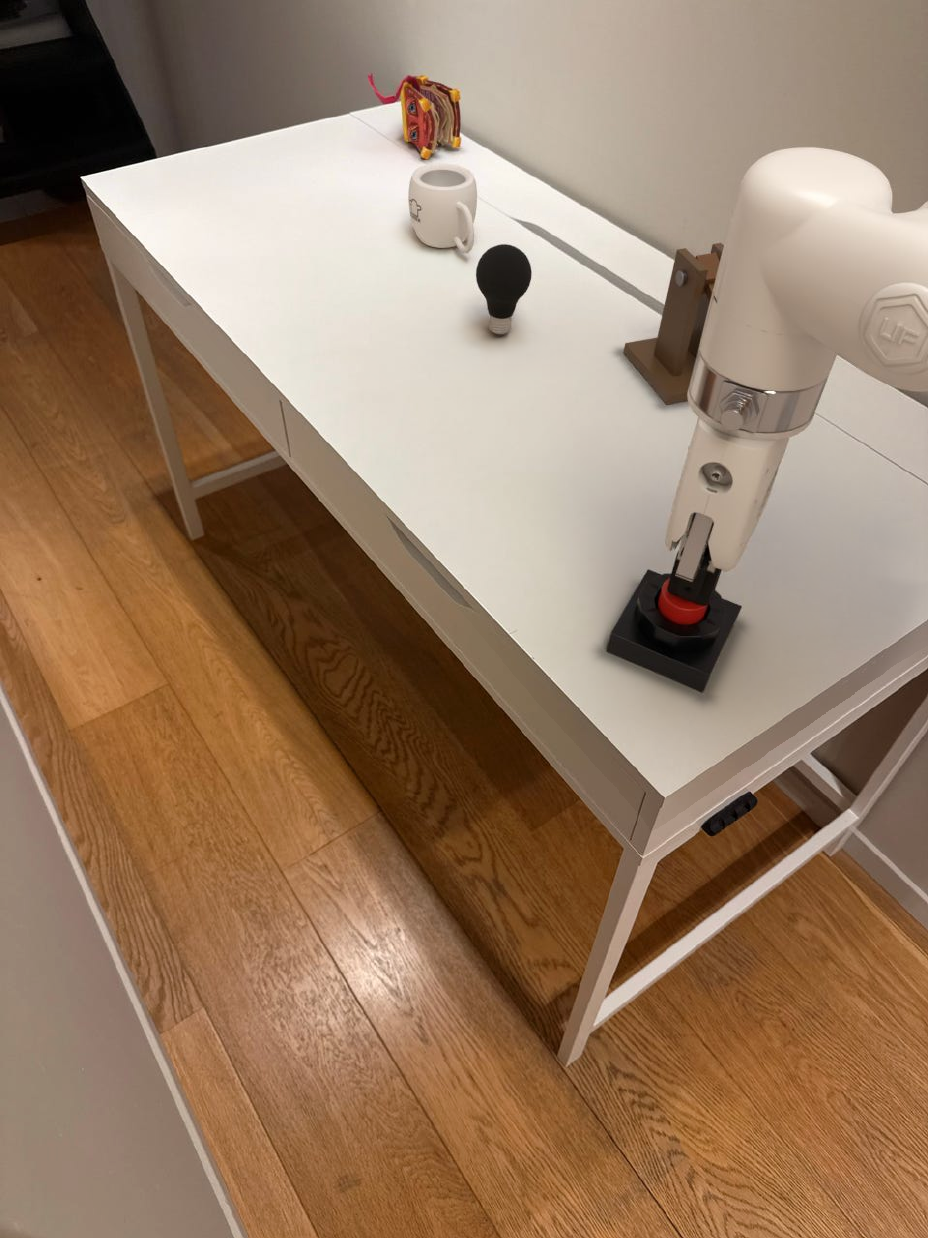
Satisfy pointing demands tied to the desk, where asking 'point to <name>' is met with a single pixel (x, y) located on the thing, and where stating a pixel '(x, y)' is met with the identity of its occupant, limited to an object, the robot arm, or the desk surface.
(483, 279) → the light bulb
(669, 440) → the desk surface
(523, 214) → the desk surface
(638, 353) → the bracket
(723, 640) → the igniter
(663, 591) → the button
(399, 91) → the book monster
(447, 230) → the mug
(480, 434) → the desk surface
